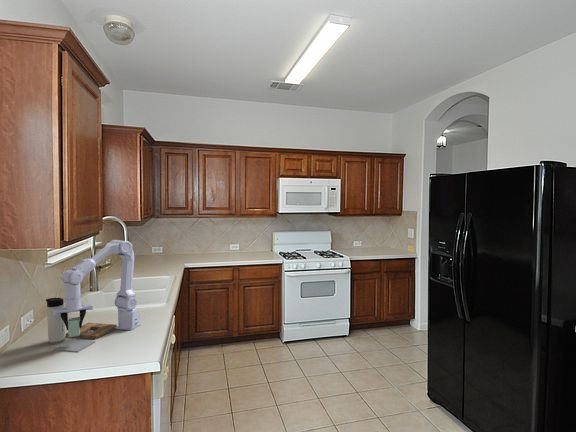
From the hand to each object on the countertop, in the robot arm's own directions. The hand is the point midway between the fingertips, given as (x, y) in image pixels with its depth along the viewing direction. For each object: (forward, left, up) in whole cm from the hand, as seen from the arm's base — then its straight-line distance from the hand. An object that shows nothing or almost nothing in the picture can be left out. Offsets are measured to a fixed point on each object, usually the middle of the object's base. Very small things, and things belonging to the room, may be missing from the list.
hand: (74, 328), depth 149 cm
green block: (0, 0, -3) cm, 3 cm away
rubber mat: (0, 0, -8) cm, 8 cm away
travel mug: (+12, -3, -8) cm, 15 cm away
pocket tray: (+4, -15, -8) cm, 17 cm away
